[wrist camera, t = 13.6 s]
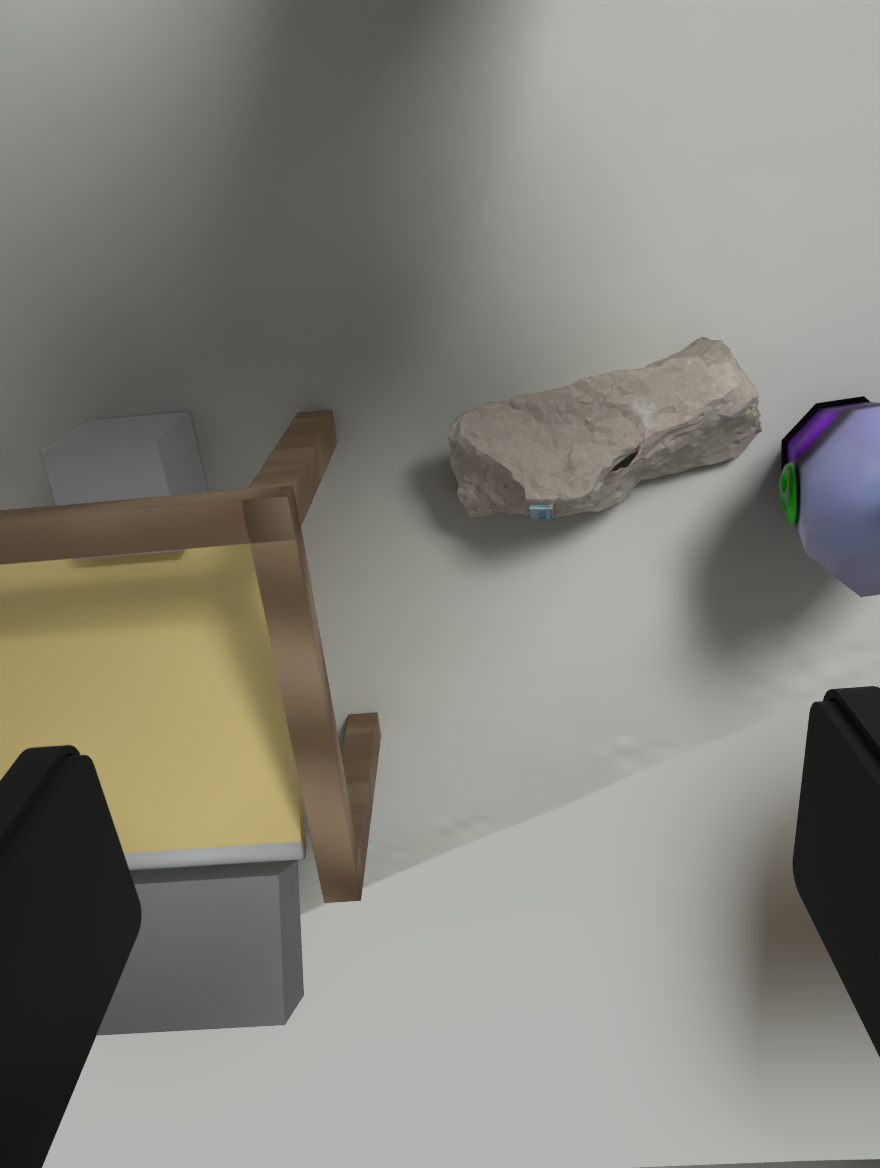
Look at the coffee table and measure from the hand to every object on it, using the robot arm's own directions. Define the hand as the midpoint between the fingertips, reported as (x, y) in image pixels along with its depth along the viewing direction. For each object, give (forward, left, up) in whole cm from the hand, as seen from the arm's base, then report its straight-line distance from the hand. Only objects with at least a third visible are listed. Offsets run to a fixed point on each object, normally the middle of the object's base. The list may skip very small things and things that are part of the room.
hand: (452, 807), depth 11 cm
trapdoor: (+17, -15, -24) cm, 33 cm away
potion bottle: (+6, +18, -31) cm, 36 cm away
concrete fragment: (+4, +7, -31) cm, 32 cm away
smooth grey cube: (+6, -15, -28) cm, 32 cm away
